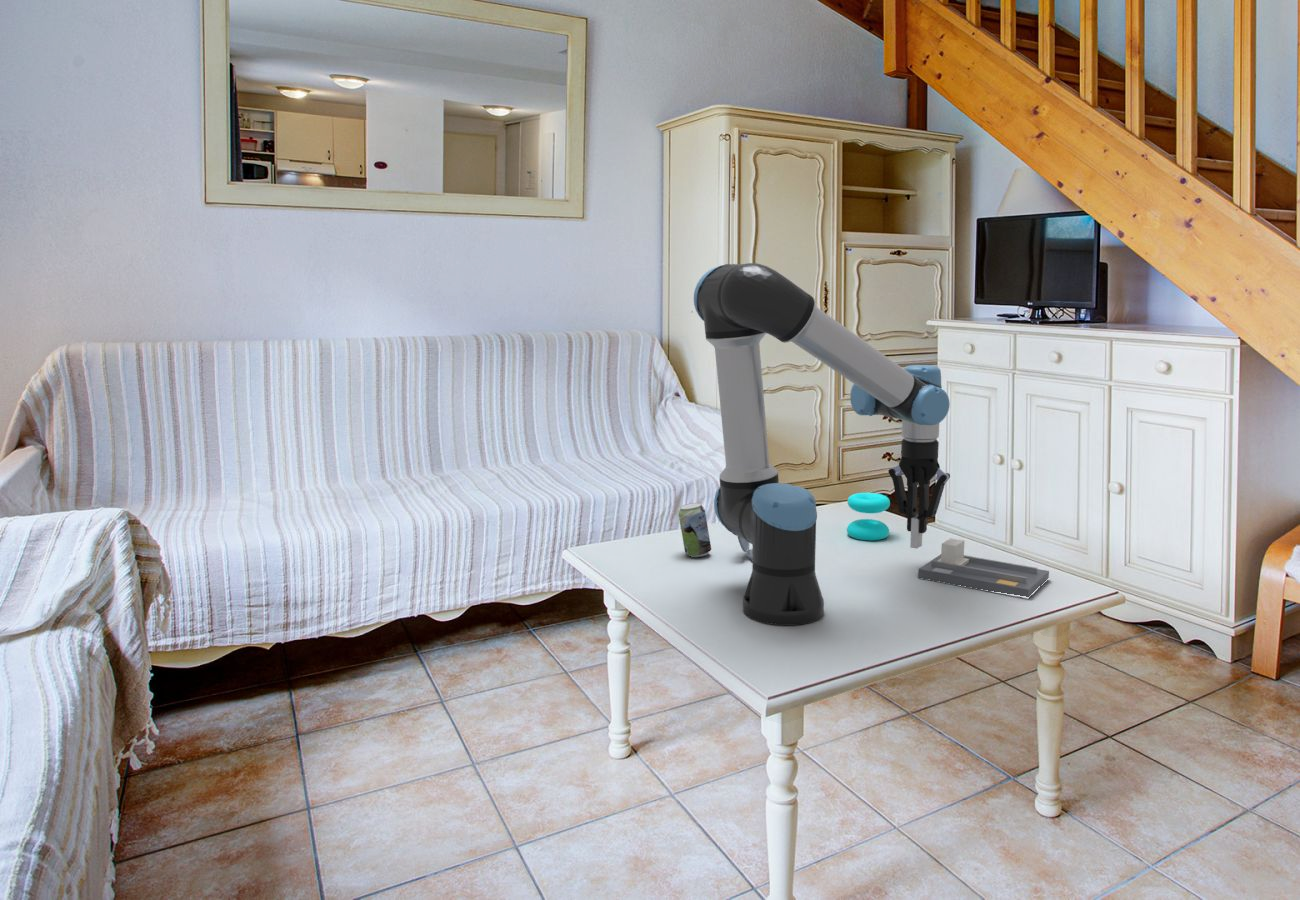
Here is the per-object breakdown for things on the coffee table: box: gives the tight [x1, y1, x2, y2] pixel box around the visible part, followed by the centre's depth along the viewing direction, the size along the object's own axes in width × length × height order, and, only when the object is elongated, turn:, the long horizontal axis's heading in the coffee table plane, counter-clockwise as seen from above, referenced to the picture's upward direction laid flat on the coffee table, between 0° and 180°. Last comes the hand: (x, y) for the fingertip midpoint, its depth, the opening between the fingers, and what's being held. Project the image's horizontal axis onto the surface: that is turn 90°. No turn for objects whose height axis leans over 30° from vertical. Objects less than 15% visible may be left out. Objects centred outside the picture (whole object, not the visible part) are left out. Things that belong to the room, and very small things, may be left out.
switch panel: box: [917, 553, 1050, 597], centre depth 185 cm, size 14×22×3 cm, turn 51°
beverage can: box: [678, 502, 712, 558], centre depth 204 cm, size 6×7×12 cm
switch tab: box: [937, 537, 969, 566], centre depth 189 cm, size 6×5×5 cm
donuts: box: [846, 492, 891, 542], centre depth 217 cm, size 10×10×10 cm
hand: (916, 546), depth 194 cm, fingers closed
